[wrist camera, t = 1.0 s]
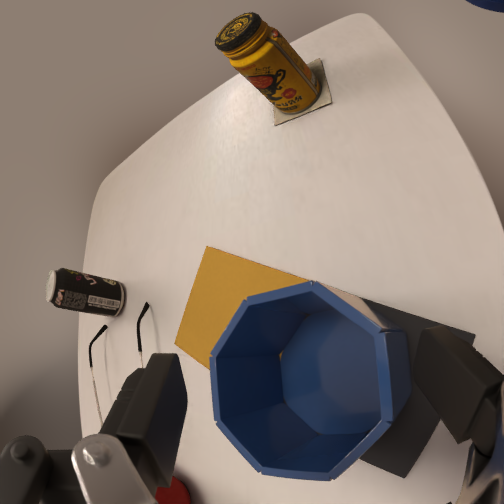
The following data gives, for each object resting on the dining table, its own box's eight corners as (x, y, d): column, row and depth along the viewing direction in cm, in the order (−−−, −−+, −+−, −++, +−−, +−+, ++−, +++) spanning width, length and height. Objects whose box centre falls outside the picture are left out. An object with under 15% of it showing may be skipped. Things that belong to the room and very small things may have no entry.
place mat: (475, 334, 16) (475, 334, 16) (405, 476, 16) (404, 478, 15) (208, 246, 34) (206, 245, 34) (176, 343, 34) (174, 343, 33)
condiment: (275, 126, 32) (202, 63, 23) (272, 81, 35) (211, 23, 26) (332, 103, 28) (268, 23, 19) (321, 59, 31) (265, -10, 22)
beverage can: (110, 287, 47) (46, 272, 37) (126, 277, 44) (56, 259, 35) (110, 320, 44) (43, 309, 35) (127, 313, 41) (53, 300, 32)
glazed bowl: (399, 286, 20) (372, 262, 14) (415, 431, 16) (393, 481, 10) (273, 315, 26) (205, 305, 20) (284, 438, 22) (218, 466, 16)
